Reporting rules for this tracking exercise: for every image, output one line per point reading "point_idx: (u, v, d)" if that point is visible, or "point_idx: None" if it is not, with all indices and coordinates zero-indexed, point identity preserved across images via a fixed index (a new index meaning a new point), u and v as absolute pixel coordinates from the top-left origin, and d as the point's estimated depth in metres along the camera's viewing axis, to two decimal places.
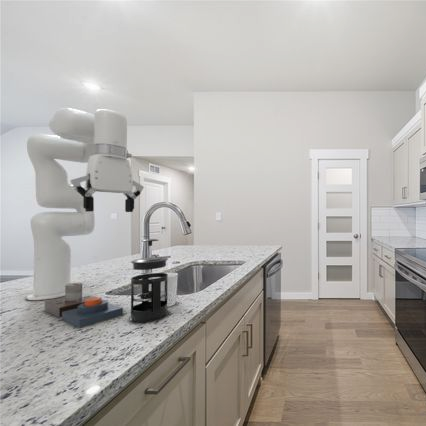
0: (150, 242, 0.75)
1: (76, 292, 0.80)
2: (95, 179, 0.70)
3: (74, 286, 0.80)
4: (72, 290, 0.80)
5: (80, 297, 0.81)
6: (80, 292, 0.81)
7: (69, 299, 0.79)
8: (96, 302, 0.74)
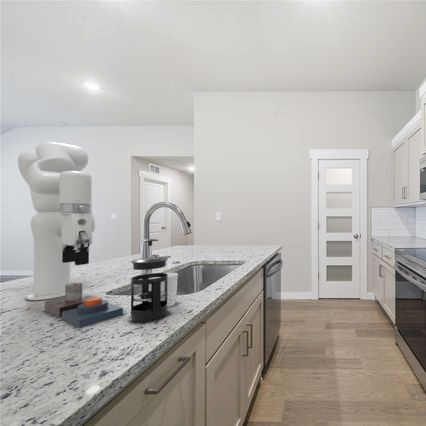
0: (150, 242, 0.75)
1: (76, 292, 0.80)
2: (61, 235, 0.81)
3: (74, 286, 0.80)
4: (72, 290, 0.80)
5: (80, 297, 0.81)
6: (80, 292, 0.81)
7: (69, 299, 0.79)
8: (96, 302, 0.74)
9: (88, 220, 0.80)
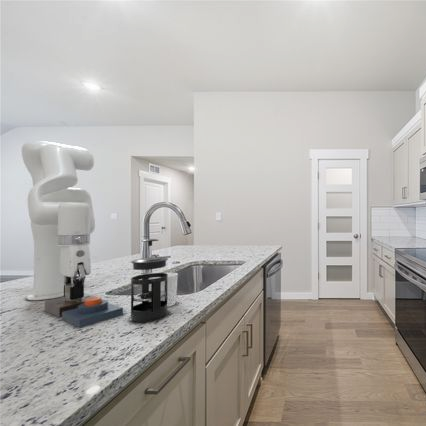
0: (150, 242, 0.75)
1: None
2: (60, 266, 0.82)
3: None
4: None
5: None
6: None
7: (69, 299, 0.79)
8: (96, 302, 0.74)
9: (87, 251, 0.81)
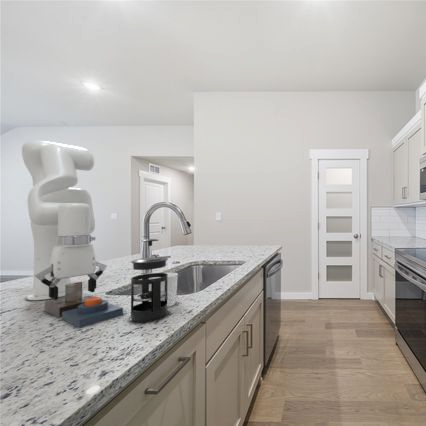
0: (150, 242, 0.75)
1: None
2: (58, 270, 0.77)
3: None
4: None
5: None
6: None
7: (81, 297, 0.82)
8: (96, 302, 0.74)
9: None
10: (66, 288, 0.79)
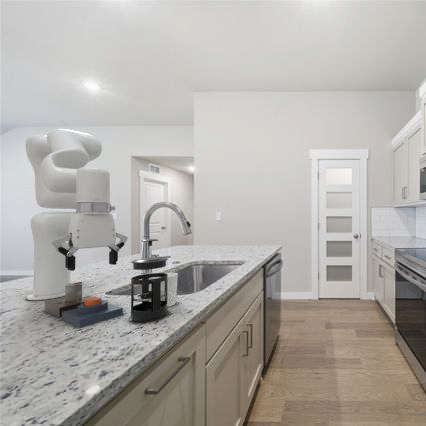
0: (150, 242, 0.75)
1: None
2: (77, 238, 0.70)
3: None
4: None
5: None
6: None
7: (81, 297, 0.82)
8: (96, 302, 0.74)
9: None
10: (66, 288, 0.79)
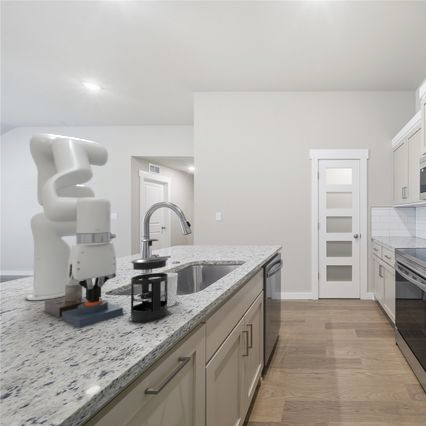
0: (150, 242, 0.75)
1: None
2: (77, 270, 0.70)
3: None
4: None
5: None
6: None
7: (81, 297, 0.82)
8: (96, 304, 0.74)
9: None
10: (66, 288, 0.79)
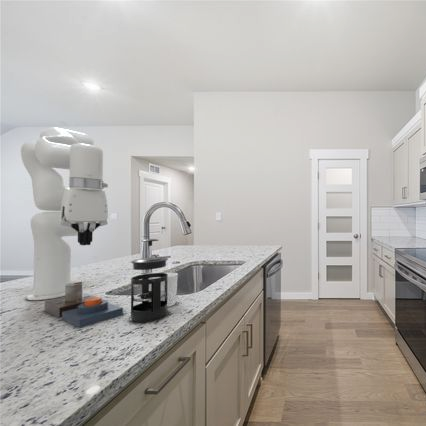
0: (150, 242, 0.75)
1: None
2: (69, 212, 0.73)
3: None
4: None
5: None
6: None
7: (81, 297, 0.82)
8: (96, 302, 0.74)
9: None
10: (66, 288, 0.79)
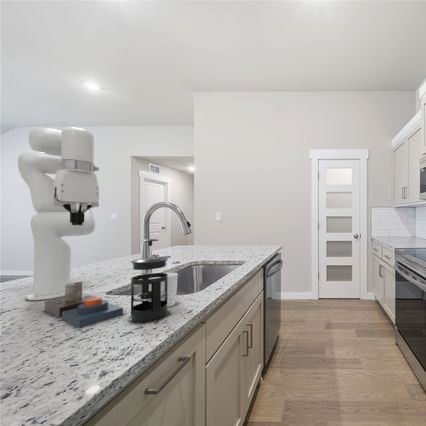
0: (150, 242, 0.75)
1: None
2: (61, 192, 0.76)
3: None
4: None
5: None
6: None
7: (81, 297, 0.82)
8: (96, 302, 0.74)
9: None
10: (66, 288, 0.79)
